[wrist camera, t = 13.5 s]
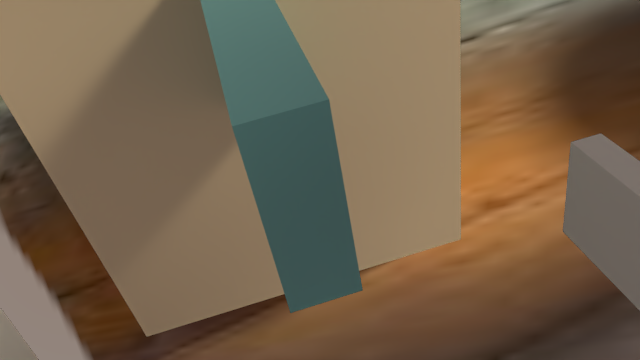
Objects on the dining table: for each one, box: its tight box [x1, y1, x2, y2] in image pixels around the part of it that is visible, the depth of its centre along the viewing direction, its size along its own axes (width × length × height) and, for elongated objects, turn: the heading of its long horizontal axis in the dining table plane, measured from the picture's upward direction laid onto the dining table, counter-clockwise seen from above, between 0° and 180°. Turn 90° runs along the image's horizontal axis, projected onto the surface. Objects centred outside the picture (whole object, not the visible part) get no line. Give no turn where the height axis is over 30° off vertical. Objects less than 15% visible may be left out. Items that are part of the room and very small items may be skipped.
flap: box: [0, 0, 461, 337], centre depth 21 cm, size 20×18×12 cm
